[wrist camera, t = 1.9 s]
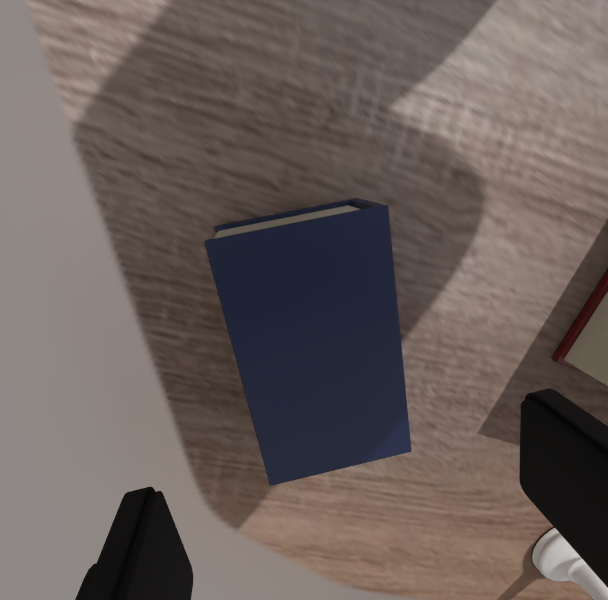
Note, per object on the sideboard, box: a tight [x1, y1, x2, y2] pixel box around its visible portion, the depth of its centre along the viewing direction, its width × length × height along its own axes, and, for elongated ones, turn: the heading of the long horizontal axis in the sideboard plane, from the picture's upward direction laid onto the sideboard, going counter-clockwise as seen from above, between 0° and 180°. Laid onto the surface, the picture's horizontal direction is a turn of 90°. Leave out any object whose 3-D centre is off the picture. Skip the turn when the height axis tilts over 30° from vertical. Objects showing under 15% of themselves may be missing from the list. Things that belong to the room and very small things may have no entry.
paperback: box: [204, 198, 411, 486], centre depth 17 cm, size 11×6×4 cm, turn 10°
